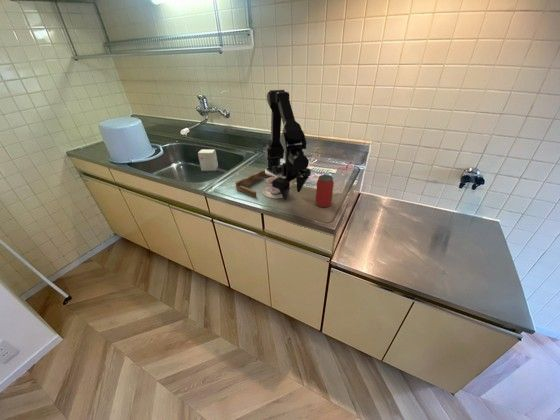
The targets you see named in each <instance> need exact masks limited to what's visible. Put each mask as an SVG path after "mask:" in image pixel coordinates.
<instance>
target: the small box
mask: <svg viewBox="0 0 560 420" xmlns="http://www.w3.org/2000/svg"><path fill="white" fill-rule="evenodd" d="M197 156H198V161H199V164H200V165H199V166H200V169H201V172H203V171H207V172H211V171H216V170H217V169H218V167H219V164H218V157H217V151H216V149H200V150H199V151H198V152H197Z"/></svg>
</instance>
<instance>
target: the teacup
mask: <svg viewBox="0 0 560 420" xmlns="http://www.w3.org/2000/svg"><path fill="white" fill-rule="evenodd" d="M279 177H280V176H275V177H270V178H266V179H265V182H266V184H267V185H268V186H267V187H265V188H264V189H263V191H262V194H263V196H265V197H266V198H268V199H275V200H276V199H283V197H282V194H281V192H280V190H279V189H278V188H275V187H272V181H273V180H275V179H277V178H279ZM268 189H269V191H267V190H268ZM289 194H290V192H289V193H288V195H289Z"/></svg>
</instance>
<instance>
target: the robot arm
mask: <svg viewBox="0 0 560 420" xmlns="http://www.w3.org/2000/svg"><path fill="white" fill-rule="evenodd" d="M266 102H267V104H268V106H269V108H270V110H271V112H270V113H271V117H270V118H271V120H270V123H271V124H270V140H269V141H268V143H267V145H266V146H267V147H266V149H265V152H264V155H265V156H264V157H265V159H266V161H267V167H266V168H265V169H266V171H270V172H272V175H274V176H275V175H276V176H277V175H281V176H282V177H285V178H282V177H280V176H278V177H279V178H277V179H275V180H273V181H272V187H275V188H278V189H279V190H280V192H279V193H280V194H282V197H283V198H282V200H284V201H285V202H286V201H287V199H288V196H289V194H290V189H291V187H290V186H291V182H292V181H295V180H296V192H297V193H300V192H301V191H302V188H303V187H304V185H305V183H306V182H307V181H308V179H309V178H310V176H311V173H312V171H311V169H310V168H308V166H309V164H310V162H309V159H308V157H307V156H306V155H305V154H304V151H303V150H307V144H308V143H307V139H306V135H305V133H304V131H303V129H302V126H301V124H300V123H299V122H298V121H296V119H295V115H294V111H293V109H292V105H291V102H290V92H288V91H285V89H270V90H269V91H268V92H267V94H266ZM282 125H283V128H282ZM281 130H282V131H281ZM281 139H282V140H281ZM281 141H282V142H281ZM282 143H283V144H282ZM284 156H285V157H284ZM281 159H282V160H283V159H284V163H282V164H281ZM288 193H289V194H288Z"/></svg>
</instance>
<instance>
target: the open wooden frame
mask: <svg viewBox="0 0 560 420" xmlns="http://www.w3.org/2000/svg"><path fill="white" fill-rule="evenodd" d="M270 177H276V176H275V175H273V174H269V173H267V172H266V170H265V169H261V170H260V171H257V172H255V173H252V174H250V175H247V176H245V177H243V178H241V179H238V180H237V181H235V190H237V191H238V192H241V193H243V194H245V195H248V196H250V197H251V198H257V191H255V190H253V189H250V188H249V187H248V186H250V185H252V184H254V183H255V182H257V181H259V180H260V179H263V178H266V179H268V178H270Z"/></svg>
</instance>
